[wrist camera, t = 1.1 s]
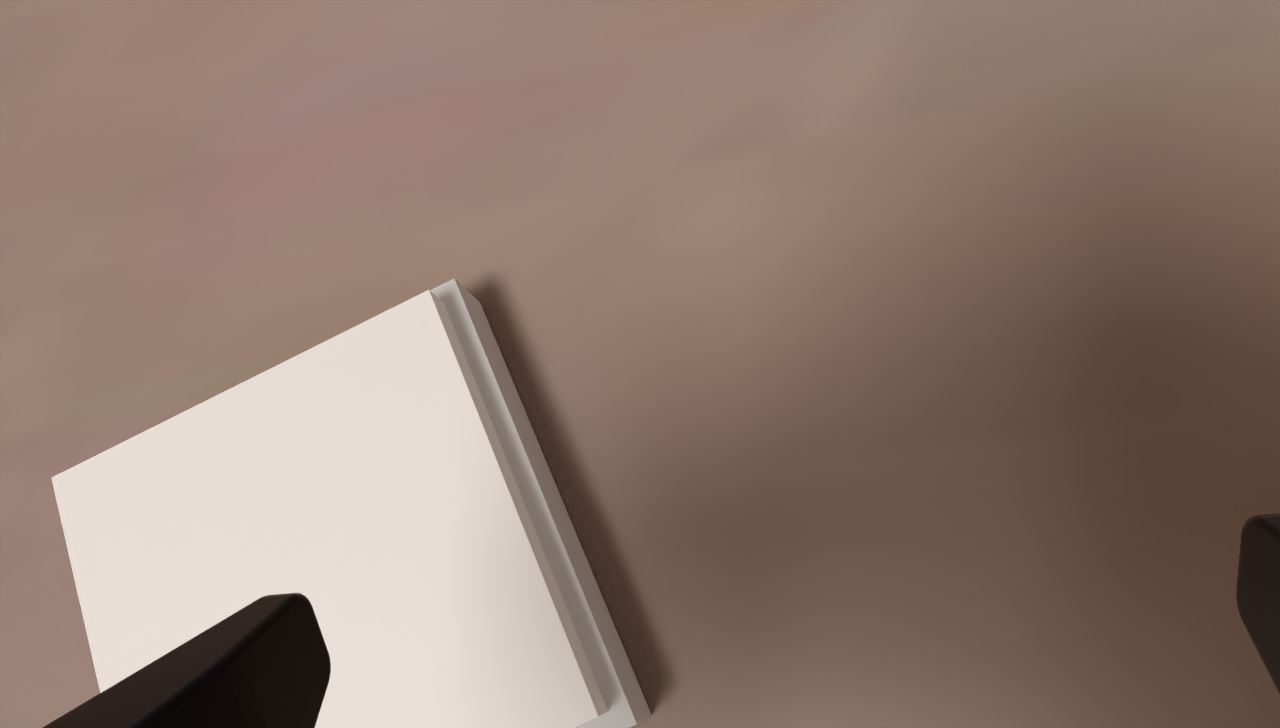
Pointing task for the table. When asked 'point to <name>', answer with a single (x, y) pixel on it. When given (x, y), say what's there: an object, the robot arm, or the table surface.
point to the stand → (361, 533)
